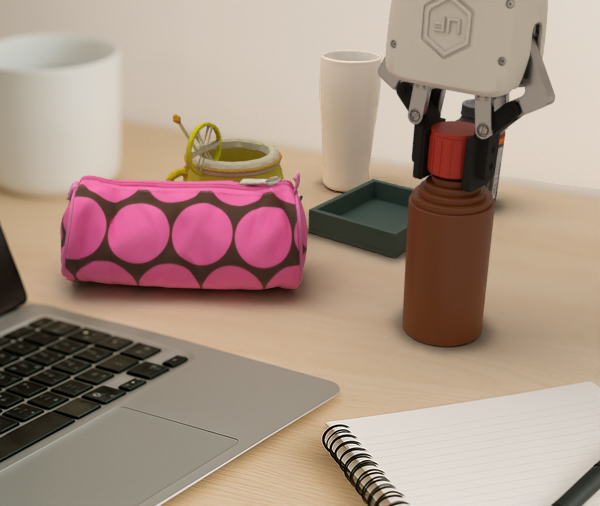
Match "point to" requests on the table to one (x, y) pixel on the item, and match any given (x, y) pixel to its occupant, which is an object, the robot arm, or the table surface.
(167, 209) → the pencil case
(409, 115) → the robot arm
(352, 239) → the tray
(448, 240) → the bottle
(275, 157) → the yellow round vessel
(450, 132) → the cap
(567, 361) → the table surface
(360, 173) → the drinking glass
